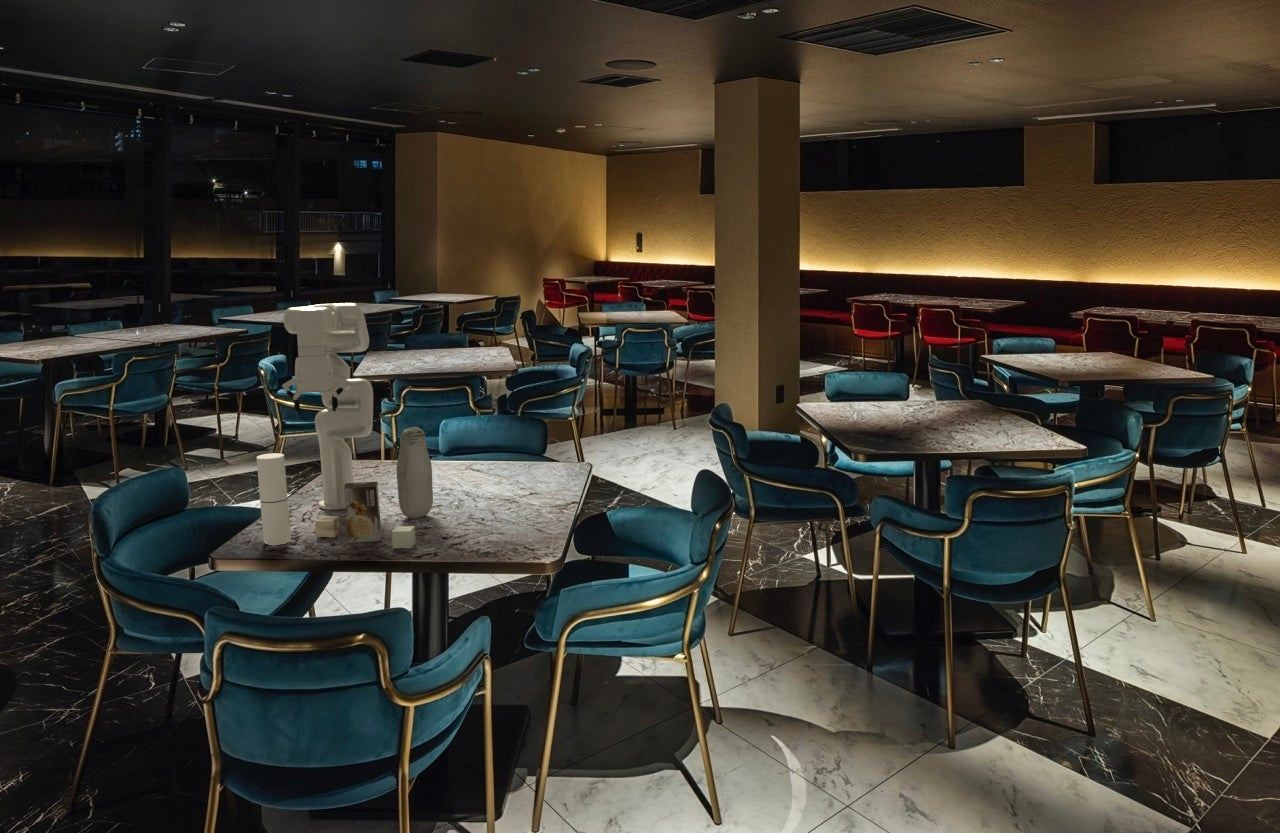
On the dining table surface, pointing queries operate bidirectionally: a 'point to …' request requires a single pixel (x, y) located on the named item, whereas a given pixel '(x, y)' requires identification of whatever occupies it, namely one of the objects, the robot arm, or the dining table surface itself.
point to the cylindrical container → (273, 498)
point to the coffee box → (362, 512)
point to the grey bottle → (414, 474)
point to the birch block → (327, 526)
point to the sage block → (403, 537)
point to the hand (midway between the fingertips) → (316, 411)
